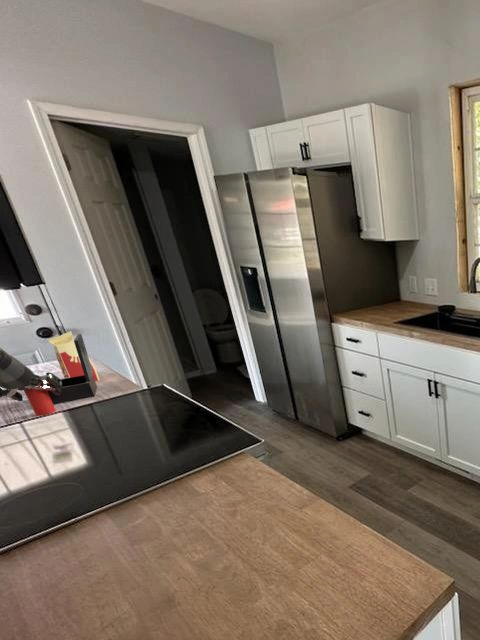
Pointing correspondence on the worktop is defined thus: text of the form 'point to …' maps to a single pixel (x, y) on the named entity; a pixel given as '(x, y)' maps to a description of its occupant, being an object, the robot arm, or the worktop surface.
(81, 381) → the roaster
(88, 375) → the lid
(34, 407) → the red capped cylinder
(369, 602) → the worktop surface
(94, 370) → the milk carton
